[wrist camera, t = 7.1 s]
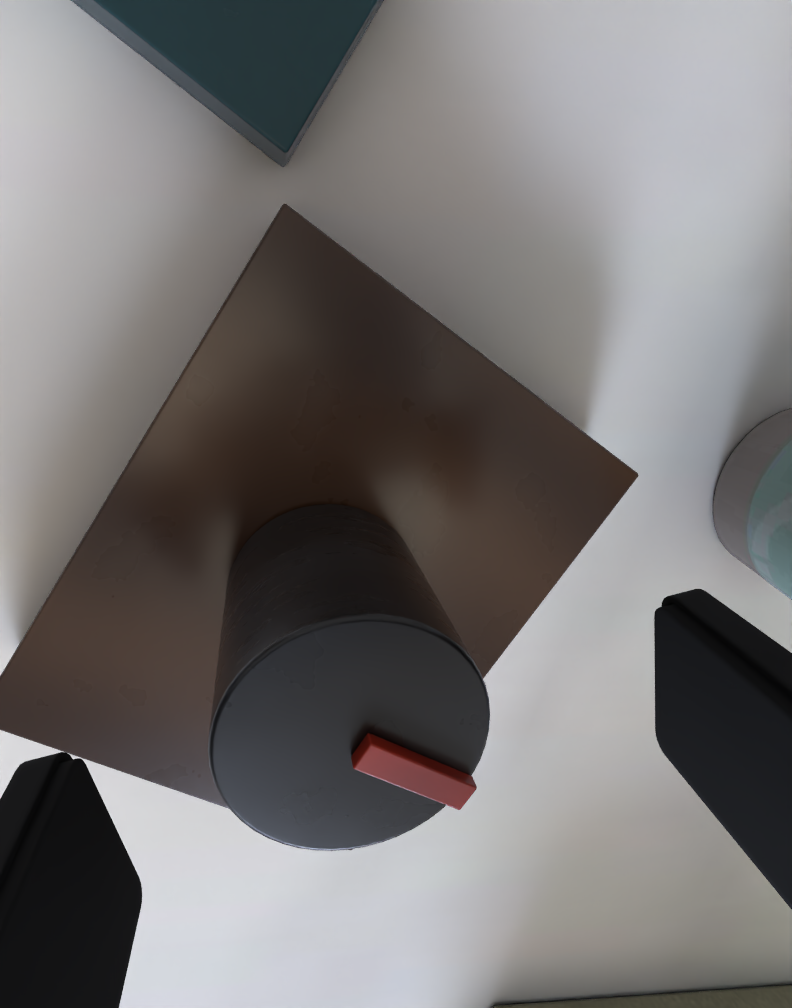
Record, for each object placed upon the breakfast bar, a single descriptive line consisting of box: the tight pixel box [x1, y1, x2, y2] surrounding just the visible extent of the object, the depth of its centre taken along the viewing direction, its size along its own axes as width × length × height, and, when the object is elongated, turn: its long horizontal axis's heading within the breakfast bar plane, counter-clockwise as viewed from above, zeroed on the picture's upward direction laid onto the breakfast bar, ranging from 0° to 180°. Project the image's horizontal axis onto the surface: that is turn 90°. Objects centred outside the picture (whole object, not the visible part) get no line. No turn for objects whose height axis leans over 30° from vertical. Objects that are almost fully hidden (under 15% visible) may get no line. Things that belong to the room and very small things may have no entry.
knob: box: [208, 504, 490, 851], centre depth 12 cm, size 5×5×6 cm
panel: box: [0, 204, 638, 850], centre depth 17 cm, size 14×11×3 cm
